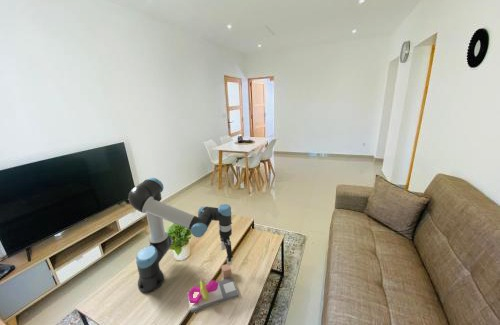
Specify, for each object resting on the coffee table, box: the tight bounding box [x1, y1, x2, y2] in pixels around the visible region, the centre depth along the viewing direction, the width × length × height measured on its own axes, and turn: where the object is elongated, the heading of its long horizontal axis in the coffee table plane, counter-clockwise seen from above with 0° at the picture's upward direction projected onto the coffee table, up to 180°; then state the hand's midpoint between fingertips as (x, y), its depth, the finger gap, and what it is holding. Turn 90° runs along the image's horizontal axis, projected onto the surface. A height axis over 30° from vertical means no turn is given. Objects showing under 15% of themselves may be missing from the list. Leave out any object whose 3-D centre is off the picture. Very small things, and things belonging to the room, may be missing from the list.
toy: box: [187, 279, 218, 304], centre depth 124 cm, size 10×18×10 cm
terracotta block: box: [221, 263, 232, 280], centre depth 140 cm, size 5×5×7 cm
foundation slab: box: [187, 276, 240, 313], centre depth 128 cm, size 28×13×2 cm, turn 112°
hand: (226, 256), depth 136 cm, fingers open, 13 cm apart
